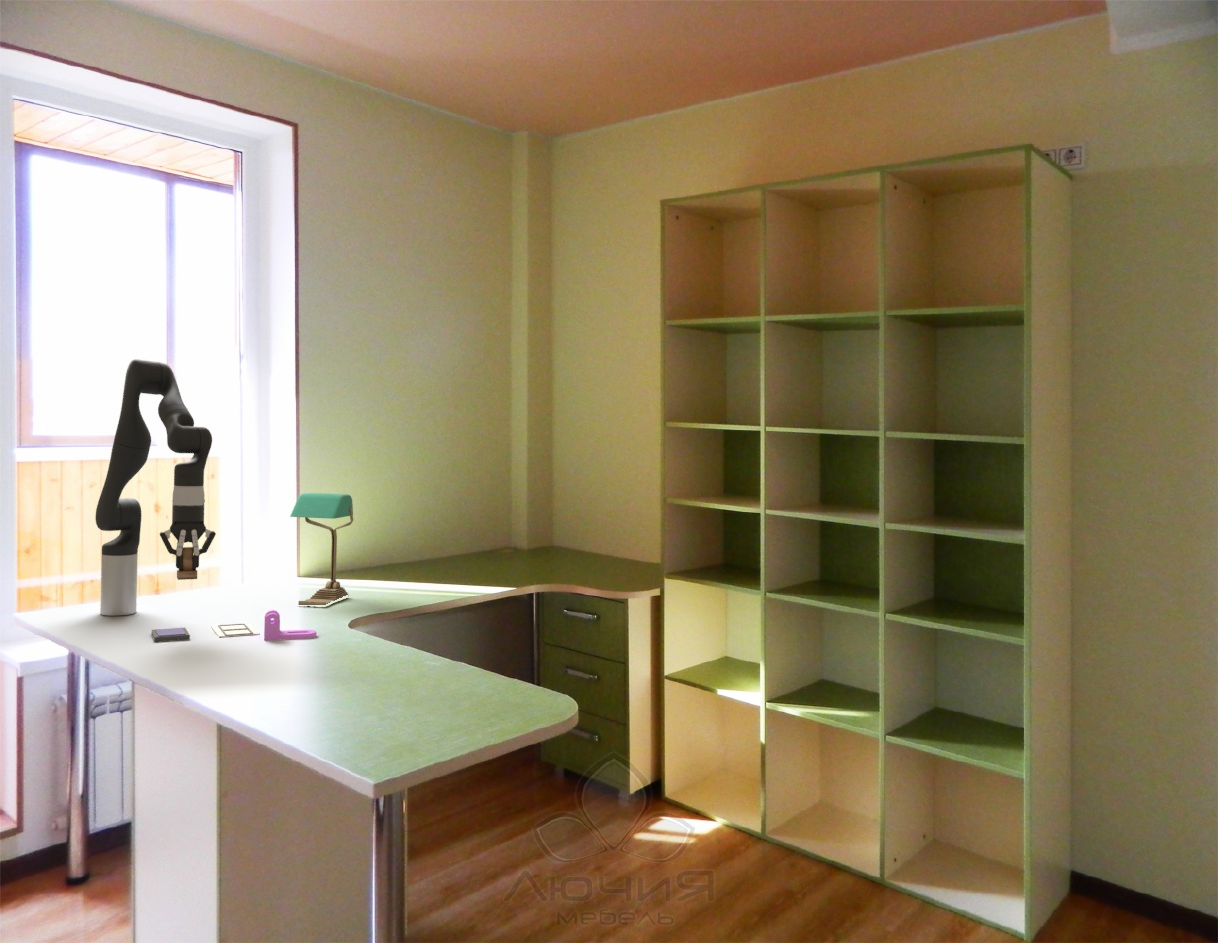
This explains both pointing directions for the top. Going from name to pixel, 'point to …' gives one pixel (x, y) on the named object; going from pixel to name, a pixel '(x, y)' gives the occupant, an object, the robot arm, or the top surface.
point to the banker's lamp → (331, 508)
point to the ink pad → (170, 634)
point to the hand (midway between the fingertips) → (187, 569)
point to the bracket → (275, 633)
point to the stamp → (187, 565)
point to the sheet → (235, 630)
